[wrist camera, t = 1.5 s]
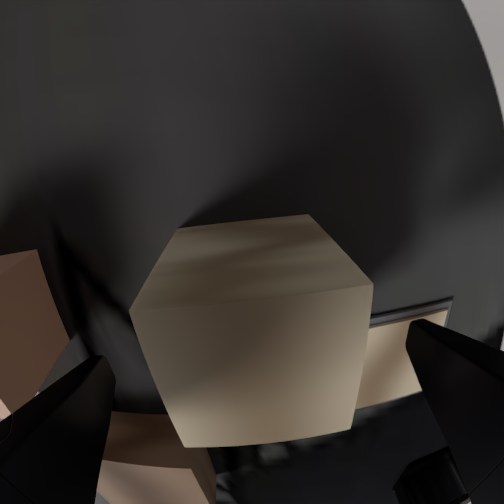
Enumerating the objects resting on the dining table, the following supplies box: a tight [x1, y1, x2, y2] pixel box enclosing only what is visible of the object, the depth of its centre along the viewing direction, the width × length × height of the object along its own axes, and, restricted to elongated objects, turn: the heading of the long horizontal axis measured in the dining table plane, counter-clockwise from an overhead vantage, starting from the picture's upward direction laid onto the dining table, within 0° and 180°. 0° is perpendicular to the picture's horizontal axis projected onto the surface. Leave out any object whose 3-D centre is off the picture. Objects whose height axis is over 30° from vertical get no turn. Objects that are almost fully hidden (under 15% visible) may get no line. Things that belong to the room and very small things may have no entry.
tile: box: [355, 299, 453, 410], centre depth 14 cm, size 7×7×1 cm
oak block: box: [129, 214, 374, 447], centre depth 9 cm, size 5×5×6 cm
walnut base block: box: [97, 411, 216, 504], centre depth 15 cm, size 8×8×4 cm
